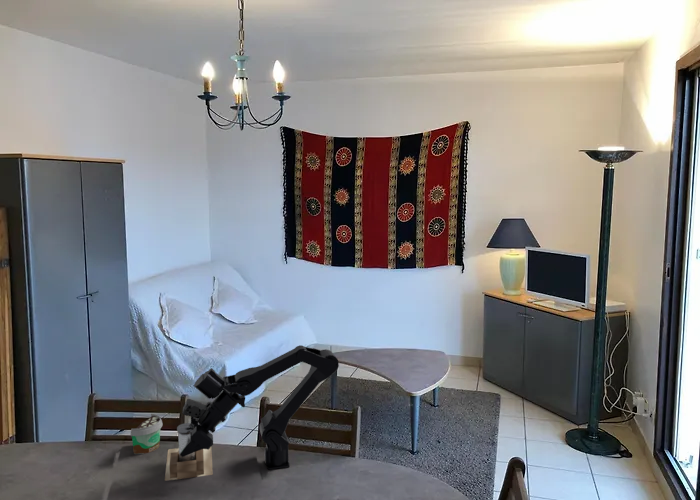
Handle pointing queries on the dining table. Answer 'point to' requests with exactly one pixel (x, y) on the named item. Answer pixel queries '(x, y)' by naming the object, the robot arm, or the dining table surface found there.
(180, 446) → the silver tapered cylinder
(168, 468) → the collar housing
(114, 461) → the dining table surface
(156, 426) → the food container
